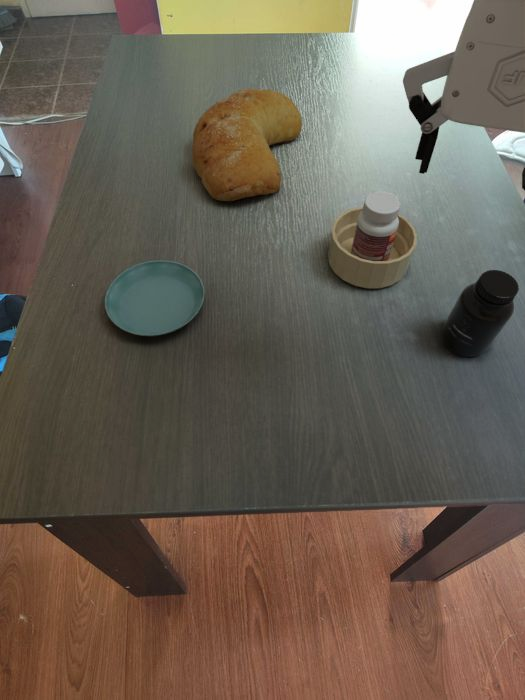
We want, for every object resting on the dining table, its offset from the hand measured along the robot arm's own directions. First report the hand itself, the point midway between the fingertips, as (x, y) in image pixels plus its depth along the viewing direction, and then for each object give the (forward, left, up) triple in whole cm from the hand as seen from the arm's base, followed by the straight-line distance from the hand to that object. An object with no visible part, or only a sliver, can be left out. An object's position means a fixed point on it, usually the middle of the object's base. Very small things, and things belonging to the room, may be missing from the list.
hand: (473, 174), depth 46 cm
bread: (+37, -36, -27) cm, 58 cm away
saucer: (+37, +5, -27) cm, 46 cm away
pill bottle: (+8, -14, -27) cm, 31 cm away
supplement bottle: (-8, -2, -27) cm, 28 cm away
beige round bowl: (+8, -14, -27) cm, 31 cm away
